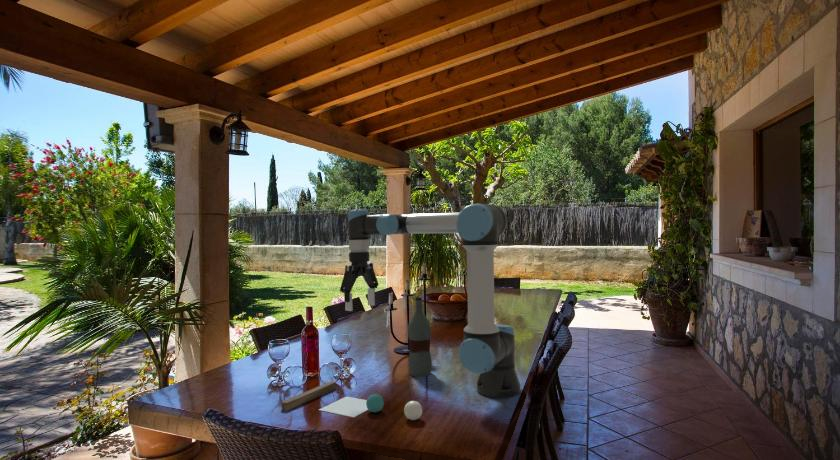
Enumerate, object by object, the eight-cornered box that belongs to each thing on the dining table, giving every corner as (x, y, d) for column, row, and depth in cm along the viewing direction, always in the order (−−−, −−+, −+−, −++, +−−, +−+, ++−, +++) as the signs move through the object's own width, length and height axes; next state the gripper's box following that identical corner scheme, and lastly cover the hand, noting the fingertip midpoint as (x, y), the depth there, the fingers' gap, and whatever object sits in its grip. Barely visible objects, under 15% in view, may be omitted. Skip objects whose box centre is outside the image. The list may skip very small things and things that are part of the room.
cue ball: (425, 417, 153) (425, 399, 153) (416, 424, 149) (416, 405, 149) (410, 414, 156) (409, 397, 156) (400, 421, 151) (400, 402, 151)
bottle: (429, 377, 194) (427, 299, 194) (406, 376, 196) (404, 299, 196) (433, 370, 203) (432, 295, 203) (411, 369, 205) (409, 295, 205)
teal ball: (387, 410, 160) (386, 393, 160) (377, 416, 156) (376, 398, 156) (373, 407, 163) (372, 390, 163) (362, 413, 158) (362, 395, 158)
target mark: (380, 403, 167) (380, 402, 167) (353, 417, 155) (353, 417, 155) (346, 396, 174) (346, 396, 174) (318, 410, 162) (318, 409, 162)
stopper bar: (335, 389, 183) (335, 382, 183) (287, 410, 162) (287, 403, 162) (330, 388, 184) (330, 381, 184) (281, 409, 163) (281, 401, 163)
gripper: (370, 249, 202) (372, 302, 202) (329, 253, 181) (330, 312, 181) (386, 249, 198) (387, 303, 198) (345, 253, 177) (347, 314, 177)
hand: (360, 308), depth 190 cm, fingers open, 13 cm apart
